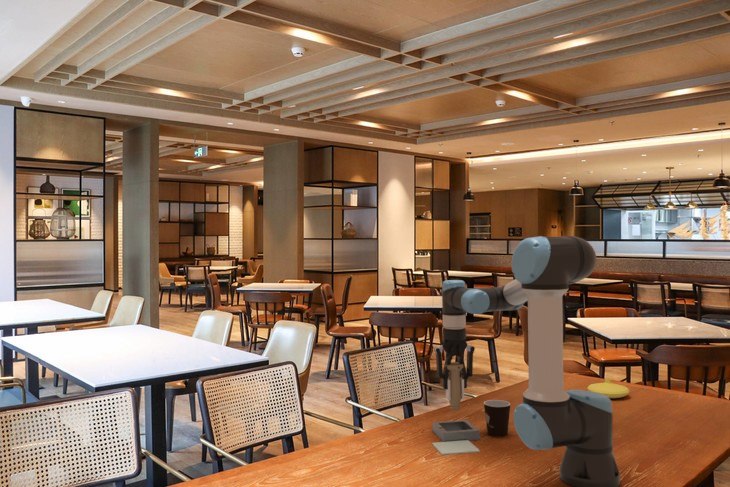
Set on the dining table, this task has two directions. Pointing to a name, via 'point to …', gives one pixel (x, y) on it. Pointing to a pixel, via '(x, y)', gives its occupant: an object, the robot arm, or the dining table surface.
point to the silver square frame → (456, 430)
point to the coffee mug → (497, 417)
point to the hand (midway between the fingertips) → (455, 398)
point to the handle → (455, 385)
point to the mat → (455, 447)
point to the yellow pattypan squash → (609, 389)
